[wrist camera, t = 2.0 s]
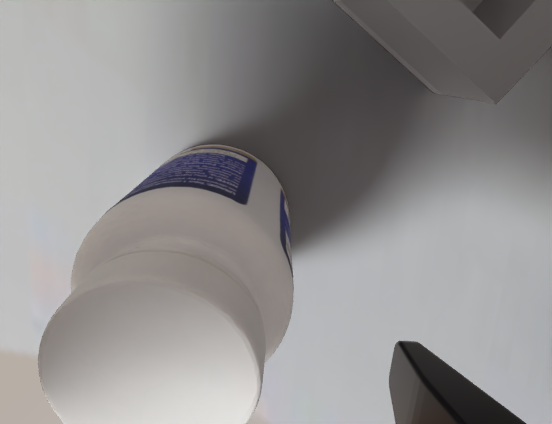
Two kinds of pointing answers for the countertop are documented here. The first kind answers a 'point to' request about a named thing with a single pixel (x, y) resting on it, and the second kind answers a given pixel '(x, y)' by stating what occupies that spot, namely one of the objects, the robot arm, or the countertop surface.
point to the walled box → (460, 40)
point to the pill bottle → (175, 298)
